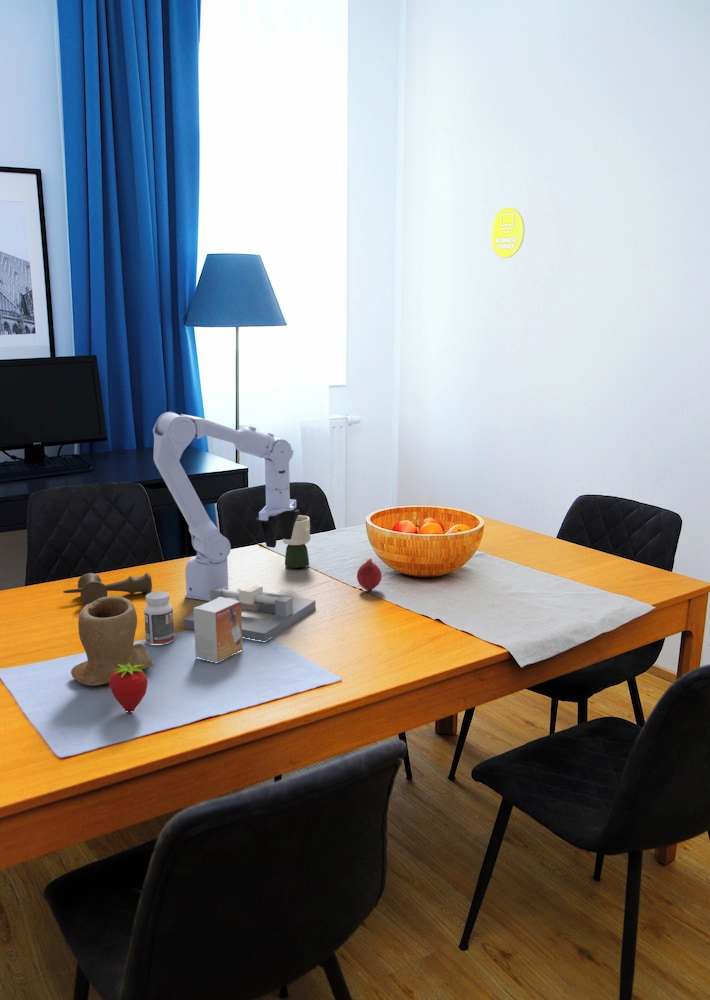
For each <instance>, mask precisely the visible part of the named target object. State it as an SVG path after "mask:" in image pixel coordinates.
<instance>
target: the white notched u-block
mask: <svg viewBox="0 0 710 1000" xmlns="http://www.w3.org/2000/svg"><path fill="white" fill-rule="evenodd" d="M240 589H241V590H239V601H241V610H247V611H252V612H256V610H258V605H259V606H265V605H267V603H261V602H254V596H255V595H257V594H258V595H263V592H264V589H263V586H261V585H255V584H250V585H247V586H245V587H243V588H240Z"/></svg>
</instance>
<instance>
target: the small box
mask: <svg viewBox="0 0 710 1000" xmlns="http://www.w3.org/2000/svg"><path fill="white" fill-rule="evenodd" d="M193 614H194V647H195V658H196V657H199V658H202V659H205V660H209V661H213V662H219V661H221V660H223V659H225V658H227V657H229V656H231V655H232V654H234V653H237V652H238V651H240V650H242V651H243V639H242V619H241V616H242V609H241V601H237V600H233V599H228V598H224V597H218V598H217V599H215V600H212V601H207V602H205V603H202V604H201V605H199V606H194V607H193ZM237 654H238V653H237ZM231 657H232V656H231ZM229 658H230V657H229ZM227 659H228V658H227ZM225 660H226V659H225ZM223 661H224V660H223ZM221 662H222V661H221ZM219 663H220V662H219Z"/></svg>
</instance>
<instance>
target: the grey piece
mask: <svg viewBox="0 0 710 1000" xmlns="http://www.w3.org/2000/svg"><path fill="white" fill-rule="evenodd" d="M241 589H242V588H237V589H236V590H235V591H232V590H233V589H229V590H227V587H221V586H217V587H215V588H213V589H211V590H210V600H211V601H212V600H215V599H217V598H218V597H224V598H228V599H233V600H237V601H239V590H241ZM254 602H261V603H267V605H265V606H259V605H258V610H256V611H257V612H264V613H269V614H275V615H273V616H271V617H269V618H268V619H267V620H266V619H259V618H255V617H249V616H248V617H247V616H243V615H241V619H242V637H245V638H250V639H255V640H261V641H266V640H268V639H269V638H271V637H273V638H275V637H276V636H278V635H279V634H280V633H282V632H283V631H285V630H287V629H289V627H291V626H292V625H293V624H295V623H297V622H298V621H300V620H301V619H302V618H304V617H306V616H307V615H309V614H310V613H312V612H313V611H315V610H316V607H317V606H316V599H310V598H304V597H297V596H290V595H285V594H276V593H270V592H265V591H263V595H258V594H257V595H255V596H254ZM256 611H255V612H256ZM182 622H183V629H185V630H186V629H188V630H192V629H194V613H192V614H190V615H188V616H186V617H185V618H183V620H182ZM271 639H272V638H271Z"/></svg>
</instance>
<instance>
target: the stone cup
mask: <svg viewBox="0 0 710 1000" xmlns="http://www.w3.org/2000/svg"><path fill="white" fill-rule="evenodd" d="M137 614H138V613H137V610H136V608H135V606H134V603H133V602H132V601H131V600H130V599H128V598H125V597H124V596H118V595H111V596H110V595H108V596H107V597H102V598H99V599H97V600H95V601H93V602H92V603H90V604H87V605H84V606H83V607H82V609H81V610H80V612H79V613H78V620H77V627H78V635H79V640H80V642H81V646H82V647H83V649H84V651H85V655H86V659H87V660H85V661H83V662H80V663H79V664H76V665H75V666H73V667H72V669H71V670H70V674H71V676H72V678H73V679H74V680H75V681H77V682H78V683H80V684H82V685H87V686H92V687H94V686H95V687H97V686H102V685H106V684H109V681H110V676H111V674H112V673H113V672H114V671H113V669H118V668H120V667H119V666H118V664H121V665H127V664H128V663H129V664H130V665H131V666H132V667H133V666H134V665H145V666H142V667H138V669H140V670H142V671H143V670H146V669H148V668H151V667H152V666H154V662H153V660H152V658H151V656H150V655H149V653H148V652H147V648H146V647H147V646H145V645H144V643H135V636H136V631H137V627H138V615H137ZM134 643H135V644H134ZM131 656H132V657H131ZM130 658H131V660H130ZM129 660H130V662H129Z"/></svg>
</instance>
